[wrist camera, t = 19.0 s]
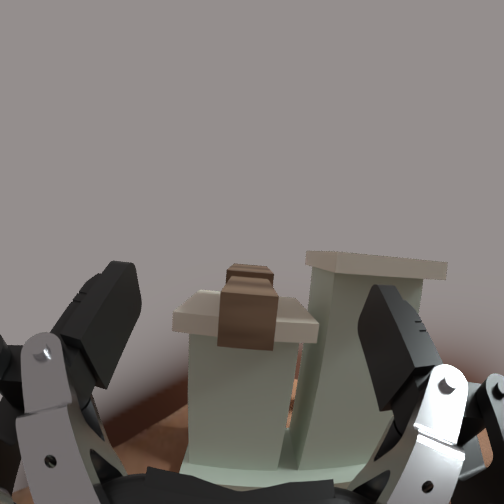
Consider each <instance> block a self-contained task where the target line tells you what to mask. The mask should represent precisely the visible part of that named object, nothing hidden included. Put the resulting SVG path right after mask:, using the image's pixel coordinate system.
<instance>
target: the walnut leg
mask: <svg viewBox="0 0 504 504" xmlns="http://www.w3.org/2000/svg"><path fill="white" fill-rule="evenodd" d="M273 278H274V274H273V273H272V272H271V271H270V269H268V267H267V266H257V265H244V264H233V265H232V266H231V267H230V268H229V269H227V274H226V285H225V286H224V288H223V289H222V291H221V293H220V307H219V322H218V338H217V346H219V347H229V348H240V349H252V350H266V351H273V346H274V337H275V328H276V319H277V309H278V300H279V296H278V295H277V293H276V291H275V290H274V288H273Z"/></svg>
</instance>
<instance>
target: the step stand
mask: <svg viewBox="0 0 504 504" xmlns="http://www.w3.org/2000/svg"><path fill="white" fill-rule="evenodd" d="M305 264H306V265H309V266H312V276H311V286H310V295H309V304H308V311H307V310H306V309H305V308H304V307H303V306H302V305H301V304H300V302H299V301H298V300H297V299H296V298H290V297H279V300H278V309H277V319H276V328H275V337H274V346H273V351H266V350H252V349H240V348H229V347H219V346H217V338H218V322H219V307H220V293H221V292H219V291H209V290H199V291H198V292H196V293H195V294H194V295H193V296H191V297H190V298H189V299H188V300H186V301H185V302H184V303H183V304H182V305H181V306H179V307H178V308H177V309H175V310H174V311H173V326H172V327H173V328H172V331H175V332H182V333H189V359H188V360H189V361H188V434H189V443H188V446H187V450H186V453H185V456H184V459H183V462H182V466H181V469H180V472H179V473H180V474H186V475H192V476H195V477H197V478H200V479H203V480H205V481H208V482H211V483H214V484H217V485H220V486H223V487H226V488H229V489H232V490H236V491H249V490H254V489H260V488H265V487H270V486H275V485H279V484H283V483H287V482H303V481H318V480H329V479H333V481H334V487H339V488H343V489H345V488H347V487H348V486H349V484H350V483H351V482H352V480H353V479H354V478H355V477H356V475H357V474H358V473H359V472H360V471H361V470H362V469H363V468H364V467H365V465H366V464H367V462H368V461H369V459H370V457H371V455H372V454H373V452H374V450H375V448H376V446H377V444H378V443H379V441H380V439H381V437H382V435H383V433H384V431H385V429H386V427H387V425H388V423H389V421H390V419H391V418H392V417H393V411H392V410H389V411H382V412H380V411H379V407H378V403H377V399H376V395H375V392H374V388H373V384H372V380H371V377H370V373H369V370H368V366H367V363H366V359H365V356H364V352H363V349H362V346H361V342H360V339H359V336H358V330H357V327H358V320H359V317H360V314H361V312H362V309H363V307H364V304H365V302H366V299H367V297H368V294H369V291H370V289H371V287H372V286H373V285H374V284H379V285H394V286H395V287H396V288H397V290H398V291H399V293H400V295H401V297H402V298H403V300H406V301H407V302H408V303H409V304H410V305H411V306H412V307H413V308H414V309H415V310H416V311H417V313H419V307H420V300H421V293H422V285H423V279H435V280H436V279H437V280H446V274H447V262H438V261H427V260H419V259H408V258H398V257H388V256H378V255H367V254H357V253H345V252H332V251H331V252H330V251H306V262H305ZM299 343H304V344H303V350H302V357H301V364H300V371H299V377H298V383H297V389H296V395H295V400H294V406H293V412H292V417H291V422H290V427H289V428H286V423H287V417H288V412H289V406H290V400H291V394H292V388H293V382H294V375H295V369H296V361H297V355H298V347H299Z"/></svg>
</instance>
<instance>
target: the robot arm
mask: <svg viewBox="0 0 504 504" xmlns="http://www.w3.org/2000/svg"><path fill="white" fill-rule="evenodd" d="M141 305H142V302H141V295H140V290H139V284H138V279H137V273H136V268H135V265H134V264H133V263H129V262H120V261H111V262H110V263H109V265H108V266H107V267H106V268H105V270H104V271H103V272H102V274H99V273H98V274H97V275H95V276H94V277H92V278H91V279H89V280H88V281H87V282H86V283H85V284H84V285H83V287H82V288H81V290H80V291H79V294H78V293H77V295H76V296H75V298H74V299H73V302H71V303H70V304H69V306H68V307H67V309H66V310H65V311H64V313H63V314H62V316H61V317H60V319H59V320H58V321H57V323H56V324H55V326H54V327H53V329H52V330H51V332H50V333H47V332H44V333H39V334H36V335H34V336H32V337H31V338H30V339H28V340H27V341H26V343H25V344H24V346H23V345H21V346H20V345H7V344H6V343H5V341H4V340H3V338H2V336H1V335H0V393H1V395H2V396H3V397H2V399H1V401H0V504H16V503H15V502H13V500H12V497H11V496H12V492H13V487H14V483H15V479H16V475H17V472H18V468H19V464H20V461H21V458H22V462H23V466H24V470H25V474H26V478H27V482H28V485H29V488H30V492H31V495H32V498H33V501H34V504H449V502H450V499H451V504H504V377H503V376H502V375H500V374H491V375H490V376H489V377H488V378H487V379H486V380H485V381H484V382H483V383H482V384H477V383H471V382H466V379H465V378H464V376H463V375H462V373H461V372H460V371H459V370H457V369H456V368H454V367H452V366H450V365H444V364H443V362H442V360H441V358H440V356H439V354H438V352H437V350H436V348H435V346H434V344H433V342H432V340H431V338H430V336H429V334H428V332H426V328H425V326H424V324H423V323H421V322H422V320H421V319H420V317H419V315H418V313H417V311H416V310H415V309H414V308H413V307H412V306H411V305H410V304H409V303H408V302H407V301H406V300H403V298H402V297H401V295H400V293H399V291H398V290H397V288H396V287H395V286H394V285H379V284H374V285H373V286H372V287H371V289H370V291H369V294H368V297H367V299H366V302H365V304H364V307H363V309H362V312H361V314H360V317H359V320H358V327H357V330H358V336H359V339H360V342H361V346H362V349H363V352H364V356H365V359H366V363H367V366H368V370H369V373H370V377H371V380H372V384H373V388H374V392H375V395H376V399H377V403H378V407H379V411H380V412H382V411H389V410H392V411H393V415H394V416H393V417H392V418H391V419H390V421H389V423H388V425H387V427H386V429H385V431H384V433H383V435H382V437H381V439H380V441H379V443H378V444H377V446H376V448H375V450H374V452H373V454H372V455H371V457H370V459H369V461H368V462H367V464H366V465H365V467H364V468H363V469H362V470H361V471H360V472H359V473H358V474H357V475H356V477H355V478H354V479H353V480H352V482H351V483H350V484H349V486H348V487H347V489H343V488H339V487H334V481H333V479H329V480H318V481H303V482H287V483H283V484H279V485H275V486H270V487H265V488H260V489H254V490H249V491H236V490H232V489H229V488H226V487H223V486H220V485H217V484H214V483H211V482H208V481H205V480H203V479H200V478H197V477H195V476H192V475H186V474H180V473H175V472H170V471H165V470H161V469H156V468H152V467H147V472H146V474H132V475H127V472H126V470H125V468H124V466H123V465H122V463H121V461H120V459H119V458H118V456H117V454H116V453H115V452H114V450H113V448H112V447H111V445H110V442H109V440H108V438H107V435H106V432H105V430H104V427H103V424H102V422H101V419H100V416H99V413H98V410H97V407H96V404H95V401H94V398H93V396H92V391H93V389H94V386H97V387H100V388H103V389H107V388H108V385H109V383H110V380H111V378H112V375H113V373H114V371H115V368H116V366H117V364H118V361H119V359H120V357H121V355H122V352H123V350H124V348H125V346H126V343H127V341H128V339H129V337H130V335H131V332H132V330H133V328H134V326H135V324H136V322H137V319H138V318H139V315H140V312H141ZM485 428H486V430H487V433H488V437H489V440H490V444H491V447H492V451H493V460H492V463H491V464H490V466H489V467H488V468H486V467H485V465H484V461H483V457H482V453H481V449H480V445H479V441H478V438H477V434H479V433H480V432H481V431H482V430H484V429H485Z"/></svg>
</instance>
